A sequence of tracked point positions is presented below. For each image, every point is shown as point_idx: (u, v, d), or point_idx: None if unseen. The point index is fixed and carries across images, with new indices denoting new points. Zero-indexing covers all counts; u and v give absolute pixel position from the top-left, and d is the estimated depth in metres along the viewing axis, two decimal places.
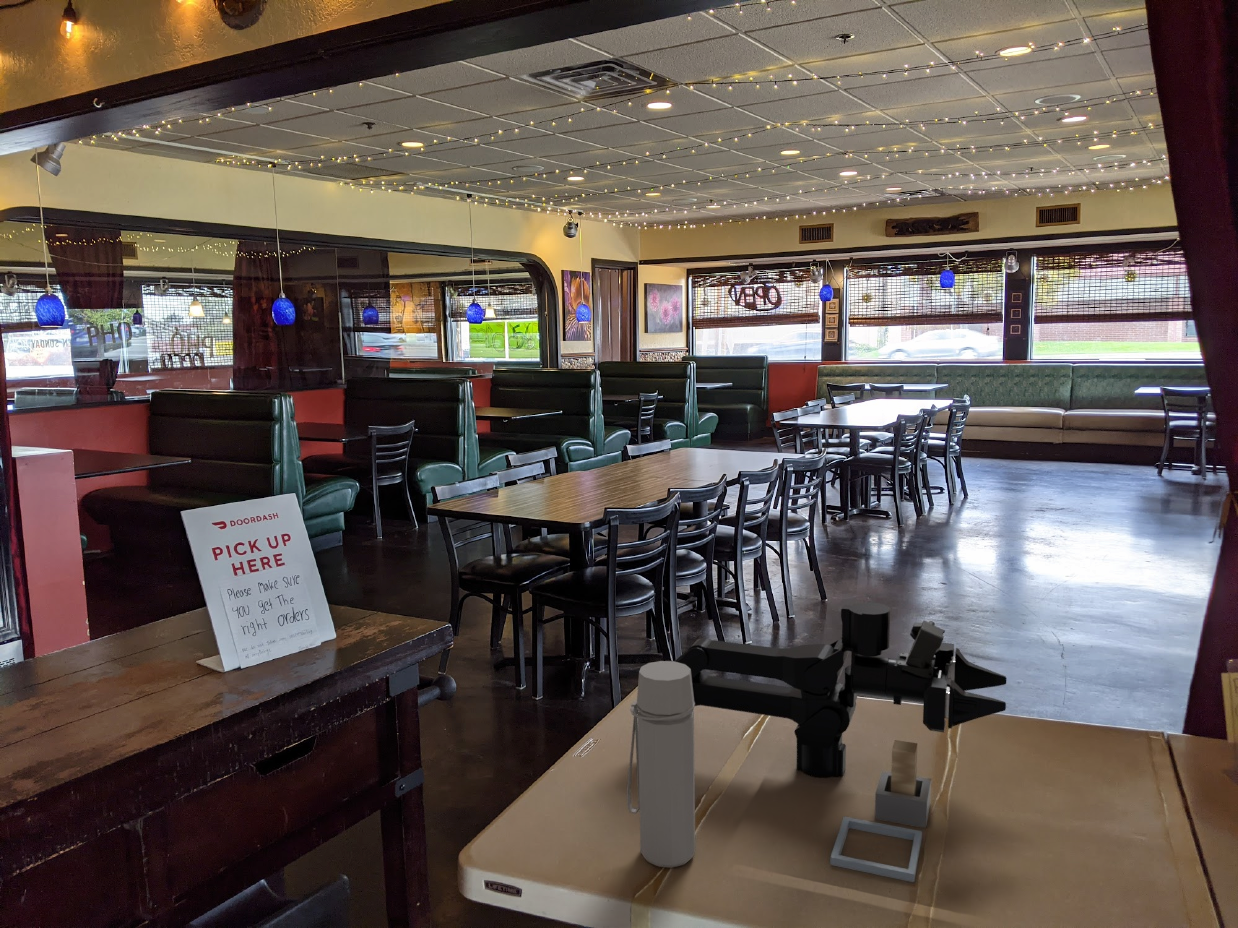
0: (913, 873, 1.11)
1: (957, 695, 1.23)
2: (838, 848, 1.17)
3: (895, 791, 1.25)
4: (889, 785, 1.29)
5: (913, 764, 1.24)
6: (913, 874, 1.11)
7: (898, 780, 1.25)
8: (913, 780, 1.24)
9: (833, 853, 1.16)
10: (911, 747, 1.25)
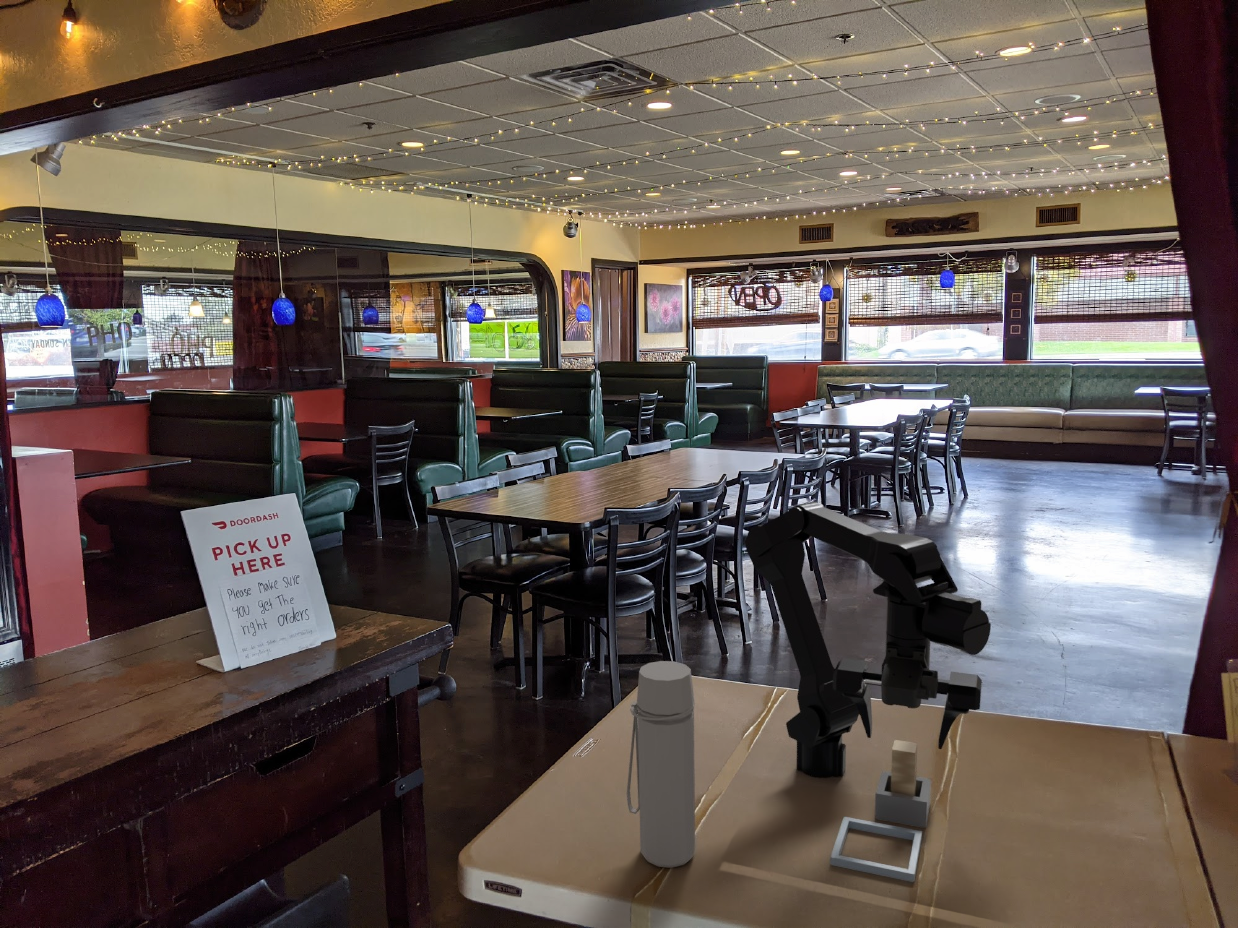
0: (913, 873, 1.11)
1: None
2: (838, 848, 1.17)
3: (895, 791, 1.25)
4: (889, 785, 1.29)
5: (913, 764, 1.24)
6: (913, 874, 1.11)
7: (898, 780, 1.25)
8: (913, 780, 1.24)
9: (833, 853, 1.16)
10: (911, 747, 1.25)
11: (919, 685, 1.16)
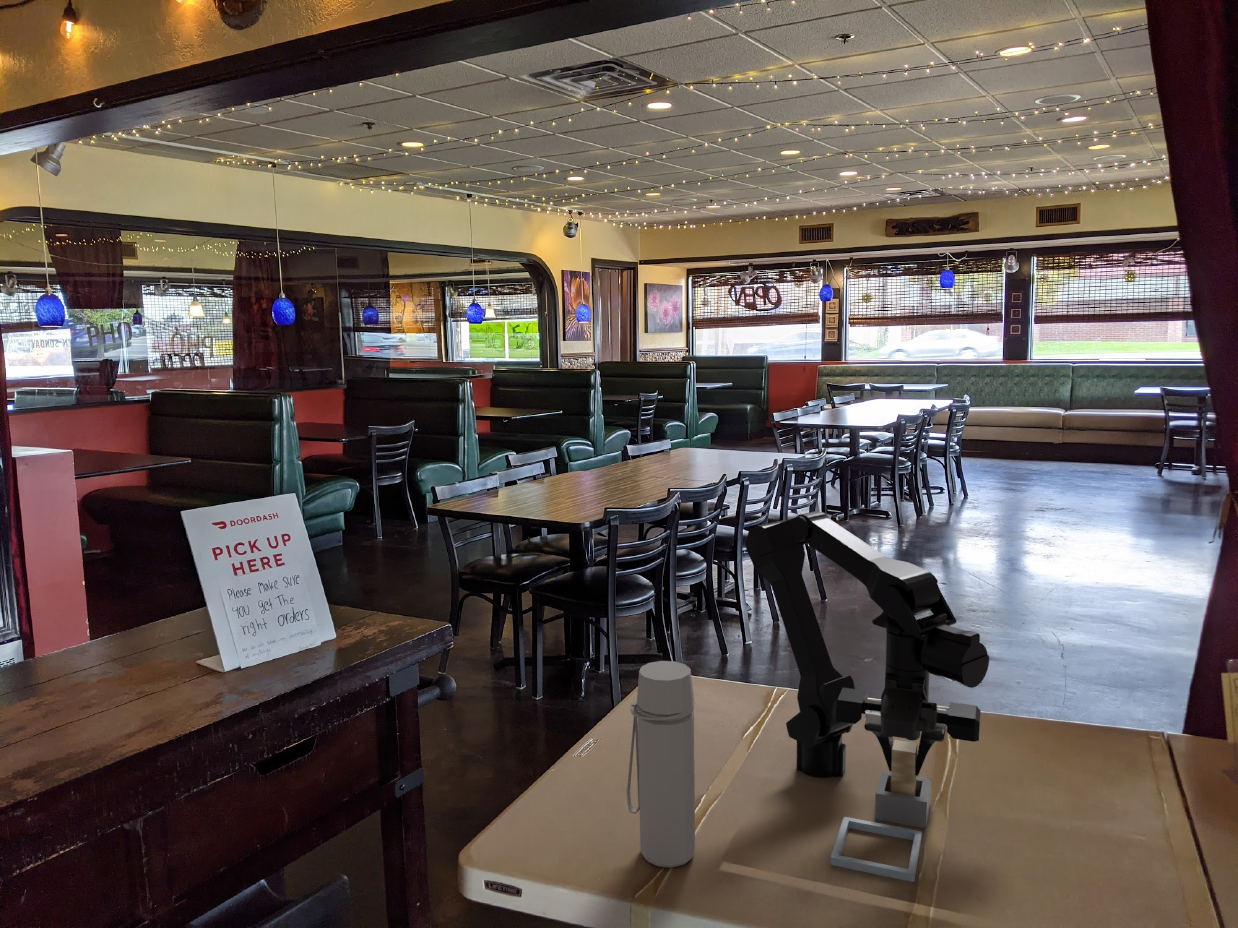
0: (913, 873, 1.11)
1: None
2: (838, 848, 1.17)
3: (895, 791, 1.25)
4: (889, 785, 1.29)
5: (913, 764, 1.24)
6: (913, 874, 1.11)
7: (898, 780, 1.25)
8: (913, 780, 1.24)
9: (833, 853, 1.16)
10: (911, 747, 1.25)
11: (918, 717, 1.16)
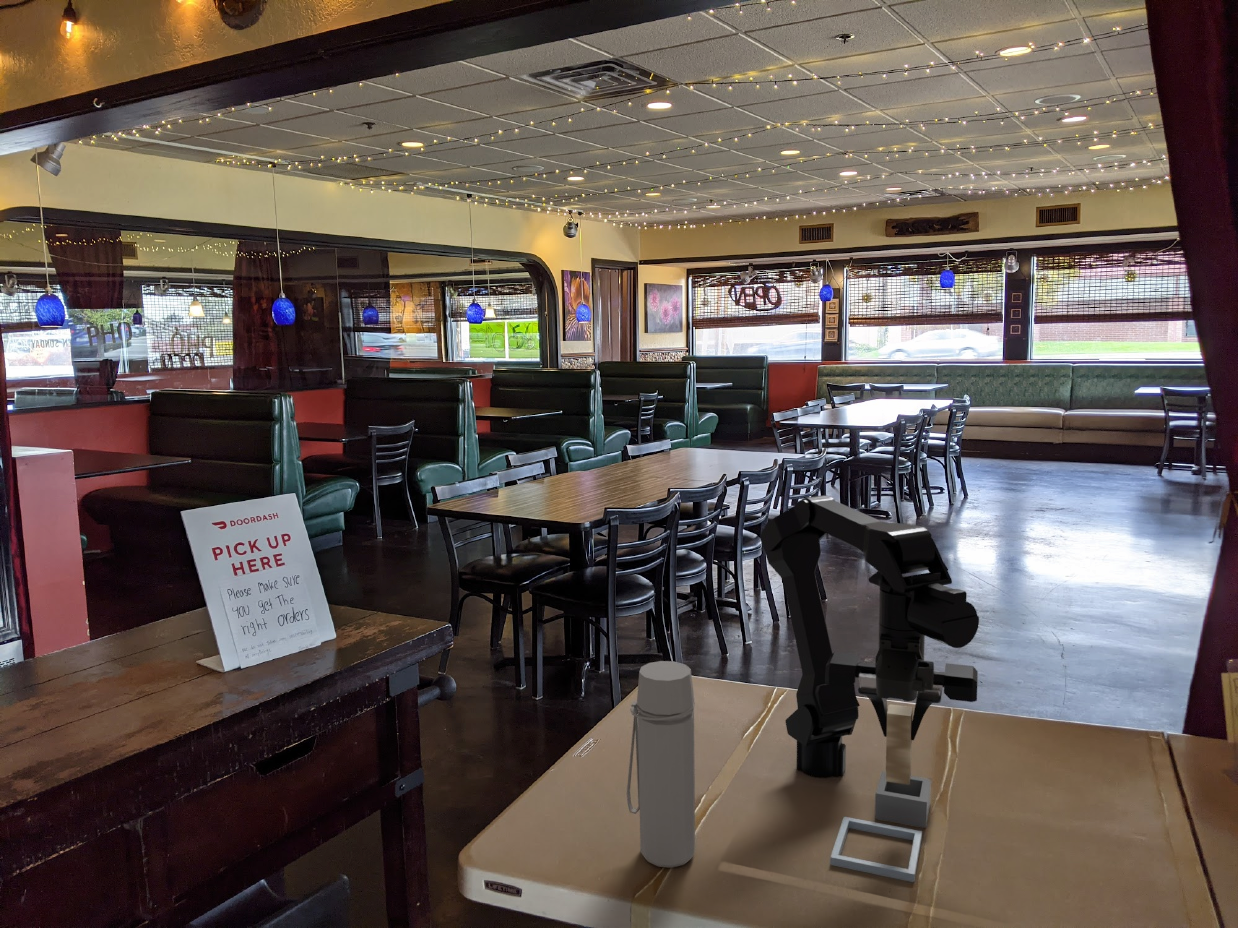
0: (913, 873, 1.11)
1: None
2: (838, 848, 1.17)
3: (890, 757, 1.21)
4: (889, 785, 1.29)
5: (909, 728, 1.19)
6: (913, 874, 1.11)
7: (893, 745, 1.21)
8: (909, 745, 1.20)
9: (833, 853, 1.16)
10: (906, 711, 1.21)
11: (915, 677, 1.12)
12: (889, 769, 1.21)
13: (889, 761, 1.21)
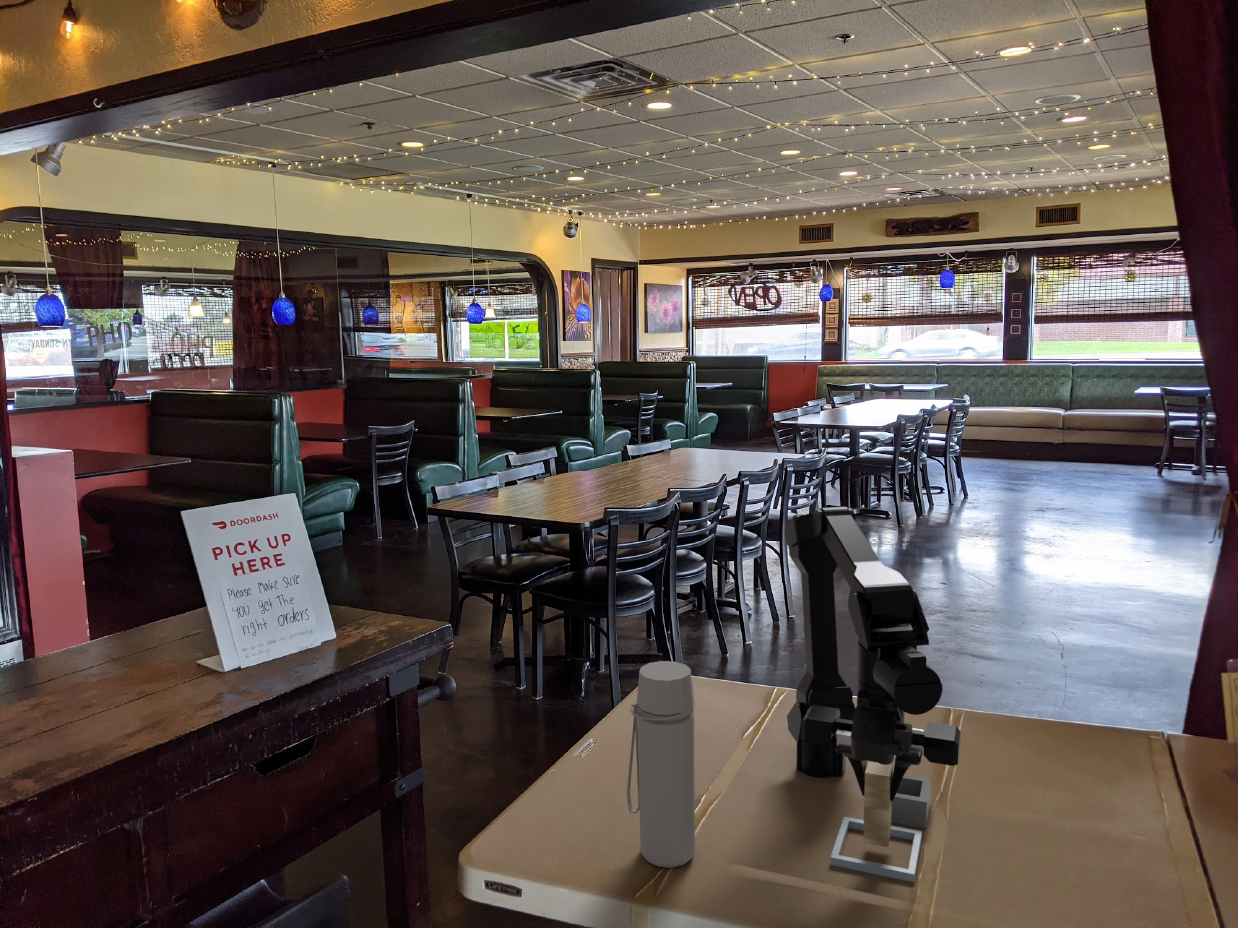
0: (913, 873, 1.11)
1: None
2: (838, 848, 1.17)
3: (868, 817, 1.16)
4: None
5: (887, 789, 1.14)
6: (913, 874, 1.11)
7: (871, 805, 1.15)
8: (888, 806, 1.15)
9: (833, 853, 1.16)
10: (886, 770, 1.15)
11: (891, 740, 1.07)
12: (867, 830, 1.16)
13: (867, 821, 1.16)
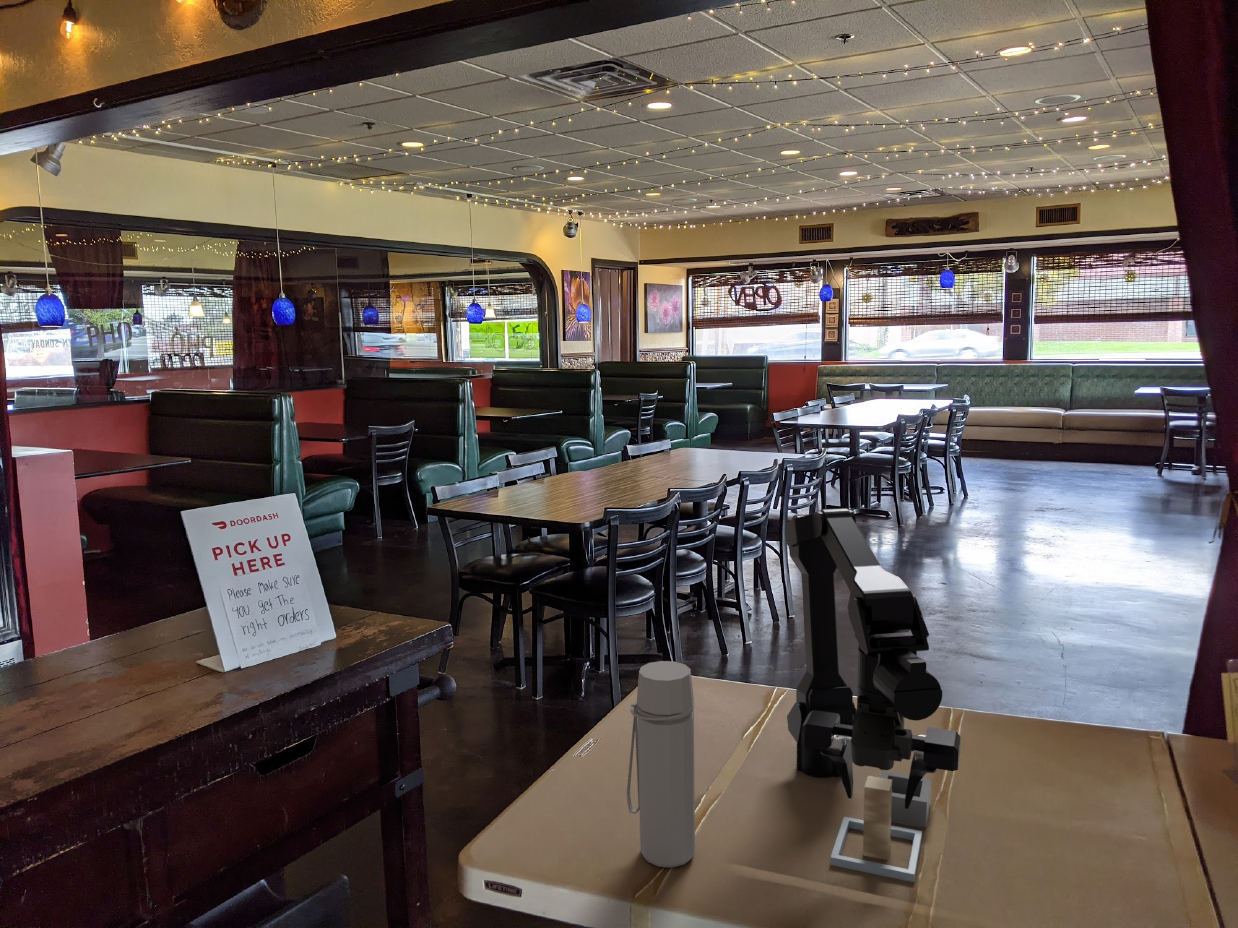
0: (913, 873, 1.11)
1: None
2: (838, 848, 1.17)
3: (868, 831, 1.16)
4: None
5: (887, 803, 1.15)
6: (913, 874, 1.11)
7: (871, 819, 1.16)
8: (887, 820, 1.15)
9: (833, 853, 1.16)
10: (885, 784, 1.16)
11: (891, 745, 1.07)
12: (867, 844, 1.16)
13: (867, 835, 1.16)
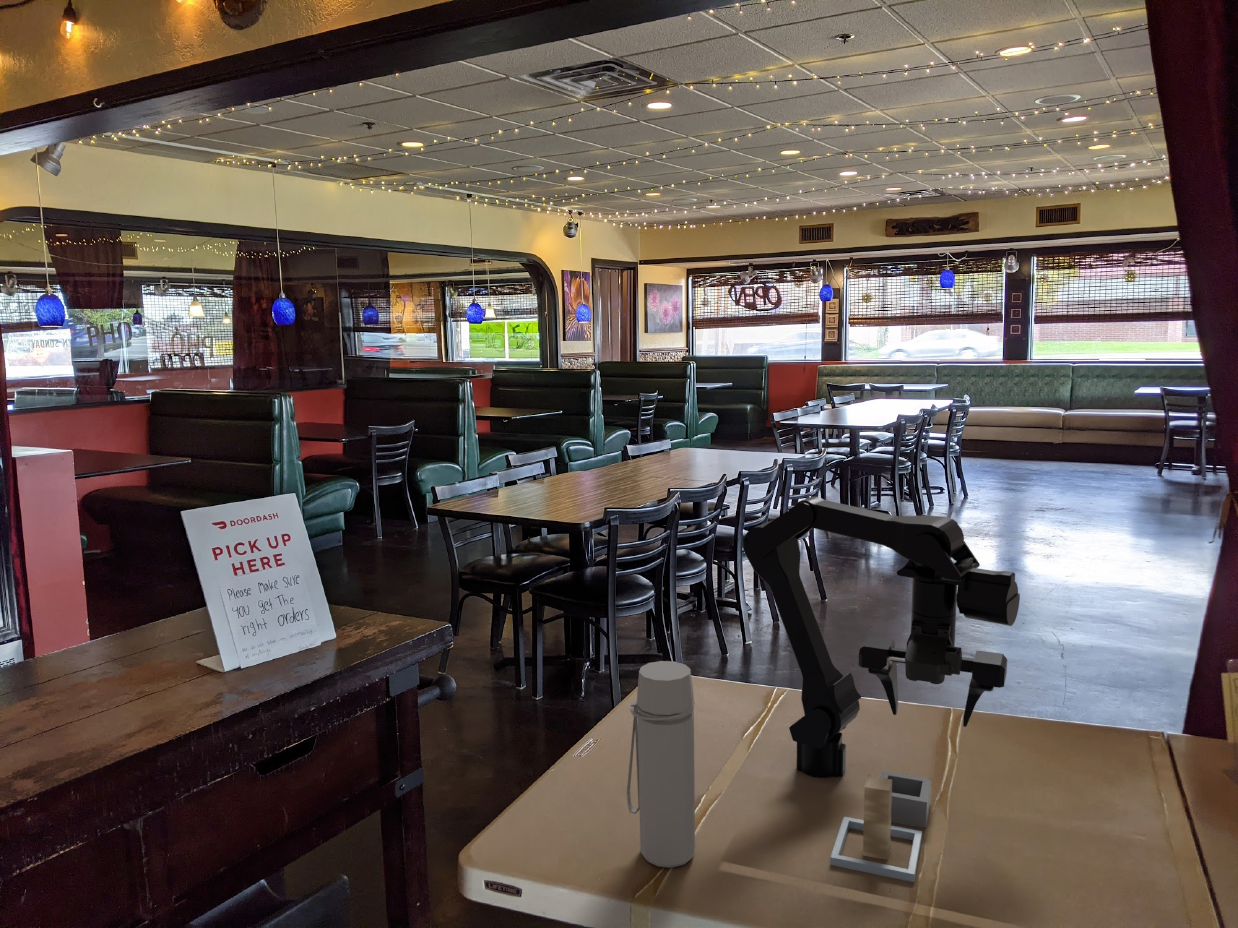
0: (913, 873, 1.11)
1: None
2: (838, 848, 1.17)
3: (868, 831, 1.16)
4: None
5: (887, 803, 1.15)
6: (913, 874, 1.11)
7: (871, 819, 1.16)
8: (887, 820, 1.15)
9: (833, 853, 1.16)
10: (885, 784, 1.16)
11: (942, 661, 1.18)
12: (867, 844, 1.16)
13: (867, 835, 1.16)
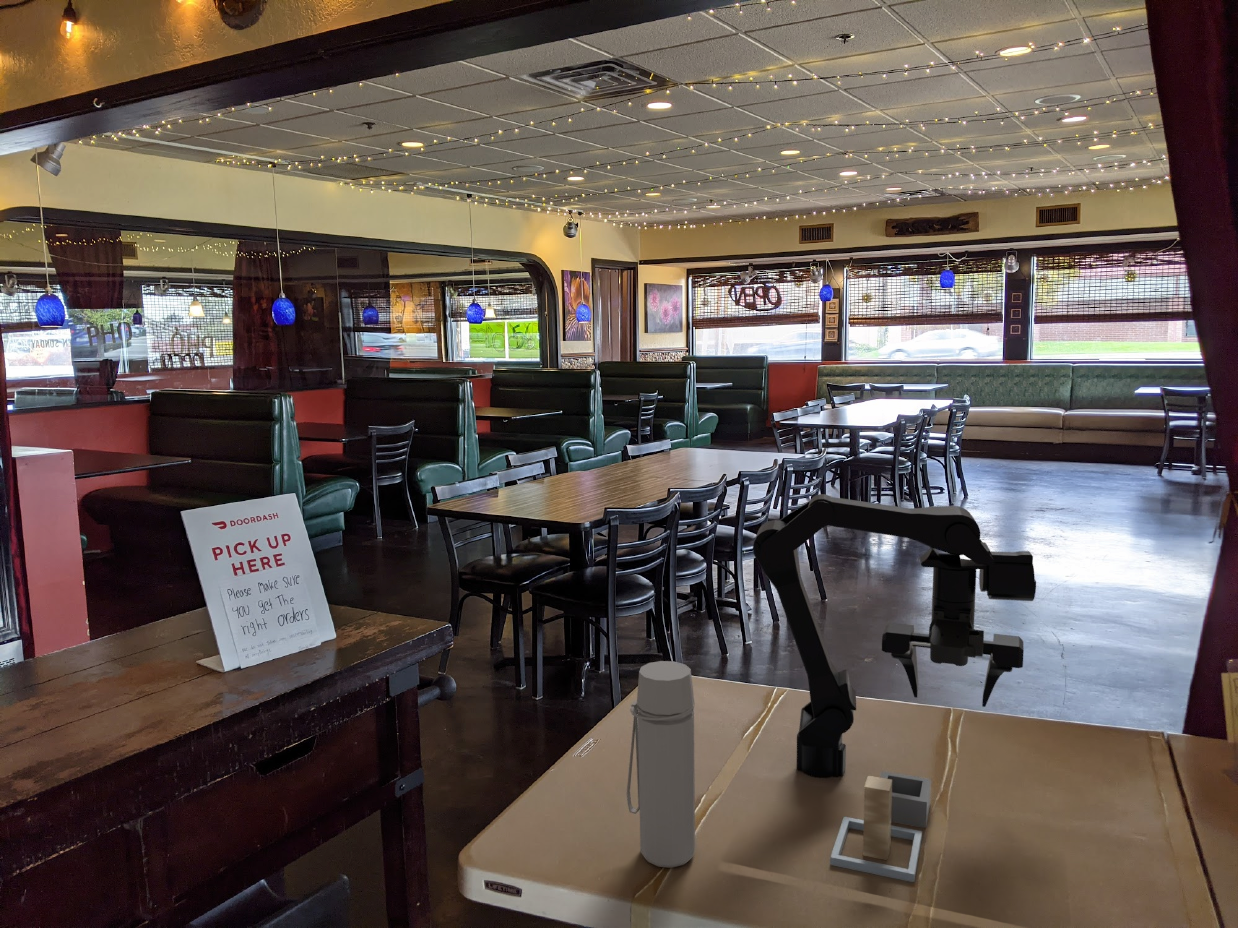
0: (913, 873, 1.11)
1: None
2: (838, 848, 1.17)
3: (868, 831, 1.16)
4: None
5: (887, 803, 1.15)
6: (913, 874, 1.11)
7: (871, 819, 1.16)
8: (887, 820, 1.15)
9: (833, 853, 1.16)
10: (885, 784, 1.16)
11: (966, 644, 1.23)
12: (867, 844, 1.16)
13: (867, 835, 1.16)
